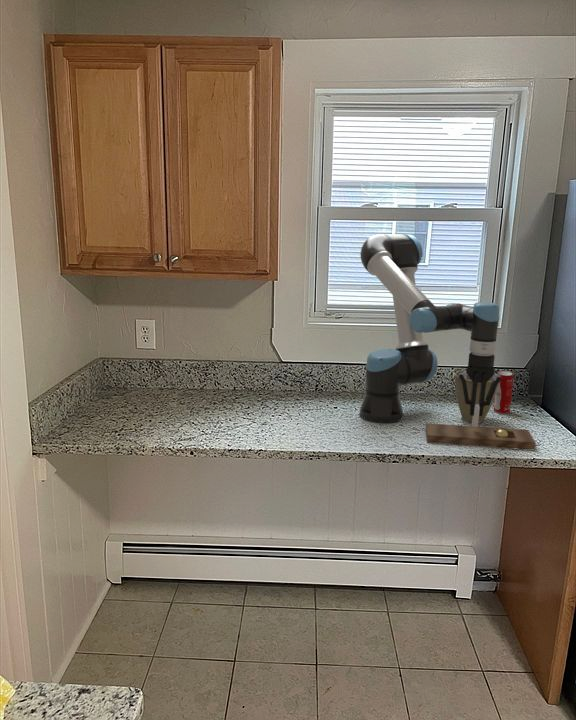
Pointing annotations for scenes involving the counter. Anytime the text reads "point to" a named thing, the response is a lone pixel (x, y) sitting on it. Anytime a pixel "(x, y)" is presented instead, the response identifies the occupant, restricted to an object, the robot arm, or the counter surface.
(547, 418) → the counter surface
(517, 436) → the board
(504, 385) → the beverage can
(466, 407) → the plant pot
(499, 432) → the brass ball
